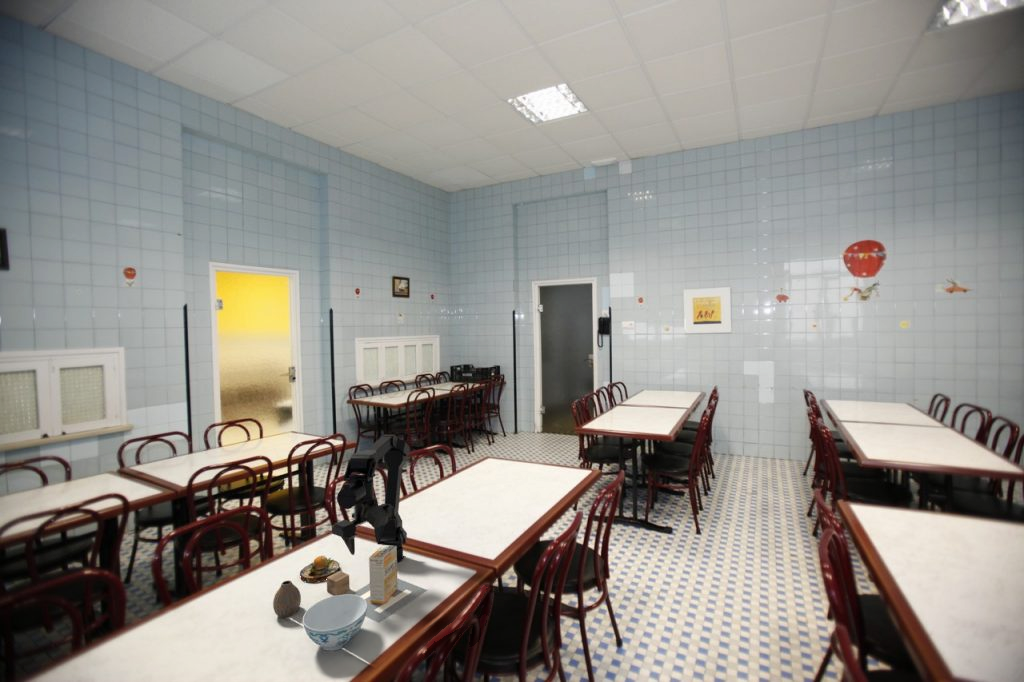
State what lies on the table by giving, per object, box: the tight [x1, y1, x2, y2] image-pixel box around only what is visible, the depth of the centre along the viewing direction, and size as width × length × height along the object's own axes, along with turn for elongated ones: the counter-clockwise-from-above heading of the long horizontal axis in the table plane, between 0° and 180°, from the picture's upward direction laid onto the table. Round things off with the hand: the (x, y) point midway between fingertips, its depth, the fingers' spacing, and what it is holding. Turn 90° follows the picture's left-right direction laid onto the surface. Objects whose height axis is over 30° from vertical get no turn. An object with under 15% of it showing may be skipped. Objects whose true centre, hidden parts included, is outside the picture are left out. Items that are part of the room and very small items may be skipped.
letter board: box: [351, 577, 428, 624], centre depth 135 cm, size 18×18×1 cm
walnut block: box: [326, 570, 350, 596], centre depth 138 cm, size 4×4×5 cm
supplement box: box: [368, 544, 398, 604], centre depth 135 cm, size 8×5×13 cm, turn 167°
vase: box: [272, 580, 302, 619], centre depth 128 cm, size 7×7×9 cm
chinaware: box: [302, 593, 367, 652], centre depth 116 cm, size 15×15×8 cm
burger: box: [299, 555, 340, 583], centre depth 150 cm, size 12×12×8 cm
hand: (365, 548), depth 138 cm, fingers open, 9 cm apart
